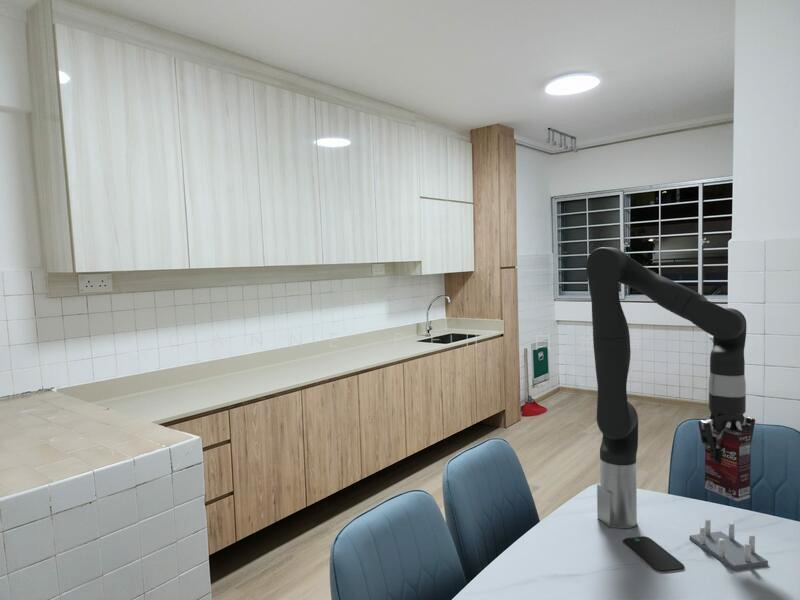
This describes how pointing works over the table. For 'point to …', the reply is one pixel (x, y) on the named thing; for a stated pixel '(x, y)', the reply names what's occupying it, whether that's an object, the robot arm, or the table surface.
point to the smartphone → (653, 555)
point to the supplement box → (730, 466)
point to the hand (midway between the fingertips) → (726, 461)
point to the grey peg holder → (728, 547)
